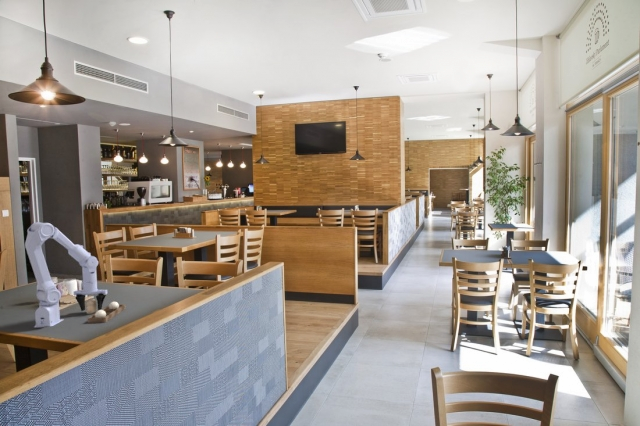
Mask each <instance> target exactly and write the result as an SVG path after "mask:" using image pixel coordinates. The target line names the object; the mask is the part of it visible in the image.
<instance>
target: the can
mask: <svg viewBox="0 0 640 426" xmlns="http://www.w3.org/2000/svg"><path fill="white" fill-rule="evenodd" d="M62 283H63V284H65V285H66V288H67V289H68V292H69V293H70V295H73V296H74V291H78V281H77V279H76V278H75V277H69V278H64V279H63V281H62Z"/></svg>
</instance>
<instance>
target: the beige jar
mask: <svg viewBox="0 0 640 426" xmlns="http://www.w3.org/2000/svg"><path fill="white" fill-rule="evenodd" d="M85 311H86V312H85V313H86V314H88V315H89V314H92V315H93V314H95V313H96V312H97V311H98V303H97V299H94V298H88V299H87V300H86V301H85Z"/></svg>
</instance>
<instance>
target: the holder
mask: <svg viewBox="0 0 640 426" xmlns="http://www.w3.org/2000/svg"><path fill="white" fill-rule="evenodd" d="M126 307H127V306H126V304H124V303H123V304H122V303H121V304H119V308H116V309H109V304H108V305H107V306H105V307H102V309H101V310H104V311H105V312H106V317H97V318H95V313H93V314H92V315H91V316H89V317H87V323H88V324H94V323H95V324H96V323H97V324H98V323H107V322H108V321H110V320H112V319H113V318H115V317H116V316H117V315H118V314H120V313H122V312H123V311H124V310H126Z"/></svg>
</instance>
